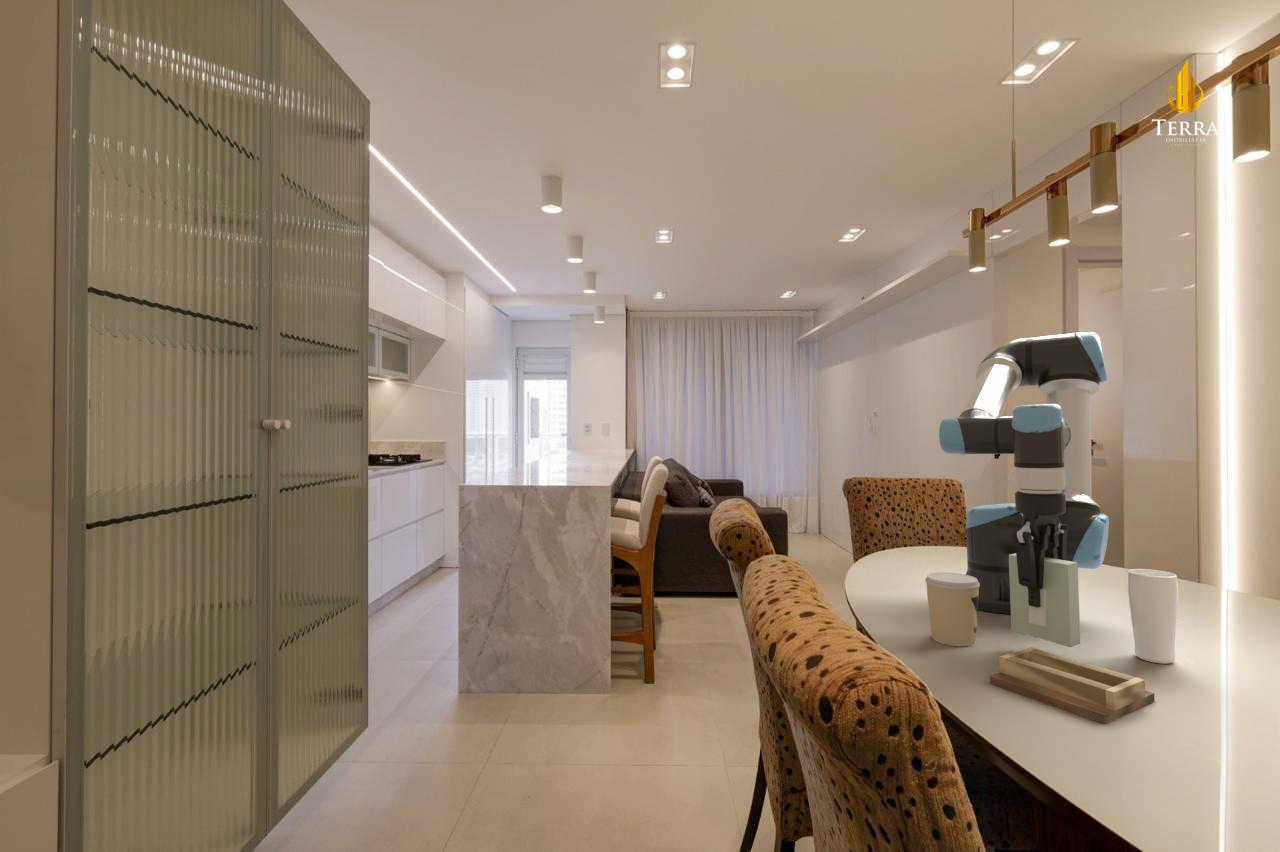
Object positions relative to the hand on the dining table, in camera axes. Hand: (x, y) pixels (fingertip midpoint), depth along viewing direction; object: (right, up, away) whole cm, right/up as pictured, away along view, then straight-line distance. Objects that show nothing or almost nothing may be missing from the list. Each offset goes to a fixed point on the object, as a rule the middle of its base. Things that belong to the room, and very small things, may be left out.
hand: (1044, 622), depth 108 cm
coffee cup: (-11, -7, +9) cm, 16 cm away
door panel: (0, -3, 0) cm, 3 cm away
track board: (-6, -6, -15) cm, 17 cm away
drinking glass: (+18, -6, -3) cm, 19 cm away
